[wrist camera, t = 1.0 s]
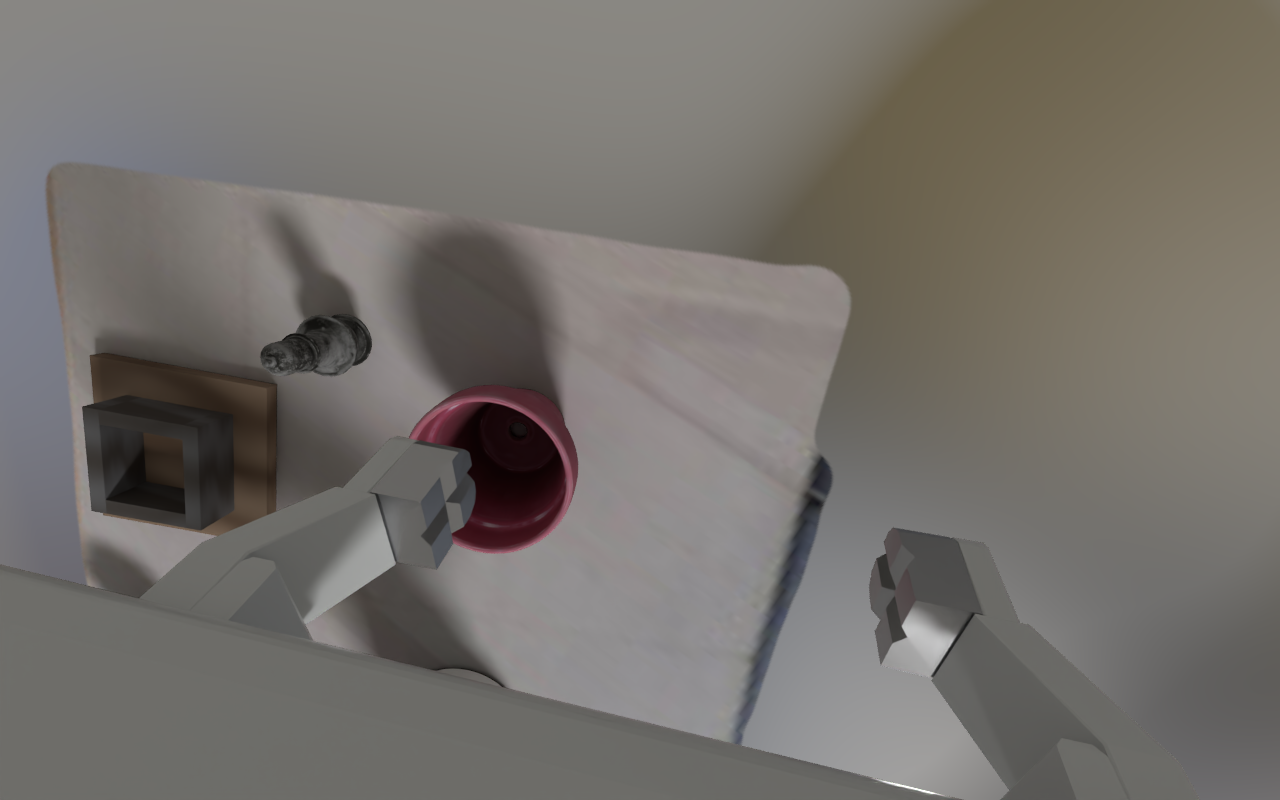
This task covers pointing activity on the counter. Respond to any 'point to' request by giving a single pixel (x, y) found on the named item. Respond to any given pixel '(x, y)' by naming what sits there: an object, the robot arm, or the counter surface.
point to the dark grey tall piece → (319, 347)
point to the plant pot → (507, 463)
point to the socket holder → (179, 445)
